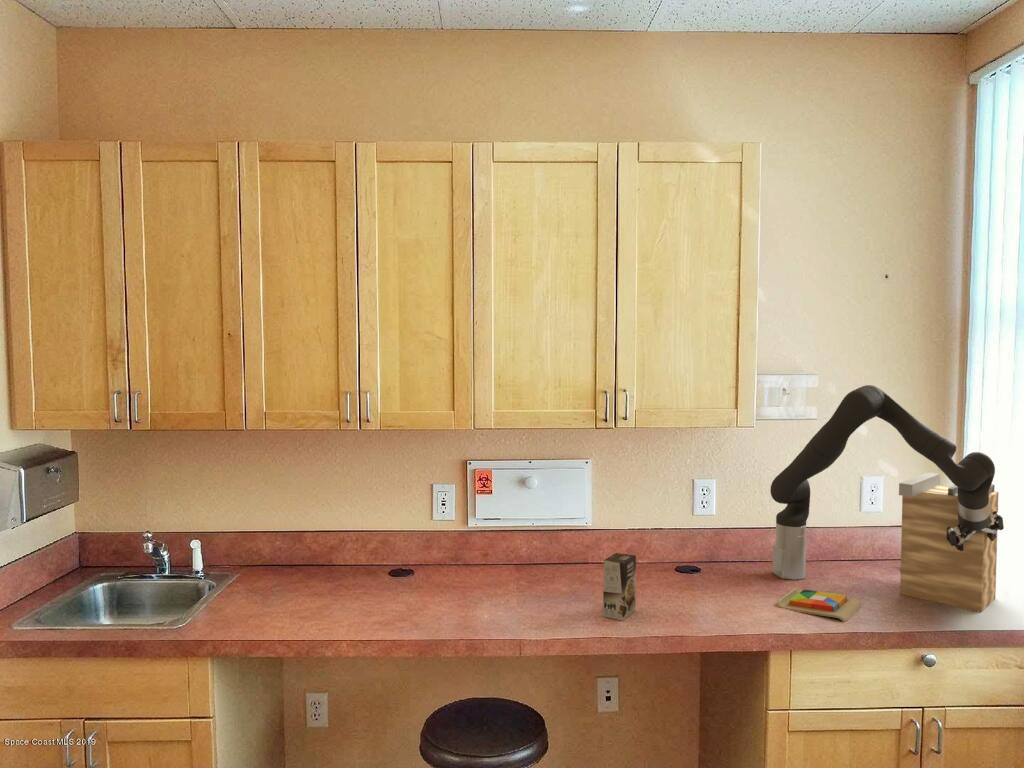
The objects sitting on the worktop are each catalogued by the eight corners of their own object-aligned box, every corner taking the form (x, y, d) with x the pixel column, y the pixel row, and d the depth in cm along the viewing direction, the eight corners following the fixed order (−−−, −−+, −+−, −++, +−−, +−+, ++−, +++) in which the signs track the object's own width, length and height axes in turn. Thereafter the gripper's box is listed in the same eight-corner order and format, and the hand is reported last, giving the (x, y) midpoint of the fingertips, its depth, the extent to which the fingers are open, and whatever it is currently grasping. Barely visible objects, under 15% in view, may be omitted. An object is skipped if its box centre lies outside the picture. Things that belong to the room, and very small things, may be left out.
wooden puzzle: (796, 592, 217) (796, 581, 217) (862, 607, 205) (863, 595, 205) (775, 608, 204) (775, 596, 204) (845, 624, 192) (845, 612, 192)
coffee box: (623, 621, 193) (624, 563, 192) (602, 616, 197) (602, 559, 196) (636, 611, 201) (636, 555, 200) (615, 606, 204) (615, 551, 204)
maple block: (981, 612, 199) (984, 492, 198) (900, 593, 214) (902, 482, 213) (995, 598, 210) (998, 485, 209) (917, 581, 226) (920, 476, 224)
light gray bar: (912, 496, 202) (912, 484, 202) (898, 495, 205) (899, 483, 204) (940, 484, 220) (940, 473, 220) (927, 483, 222) (927, 472, 222)
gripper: (992, 490, 194) (992, 525, 203) (939, 508, 196) (942, 541, 206) (1009, 510, 188) (1009, 545, 197) (955, 528, 190) (957, 562, 200)
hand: (975, 543), depth 201 cm, fingers open, 8 cm apart
